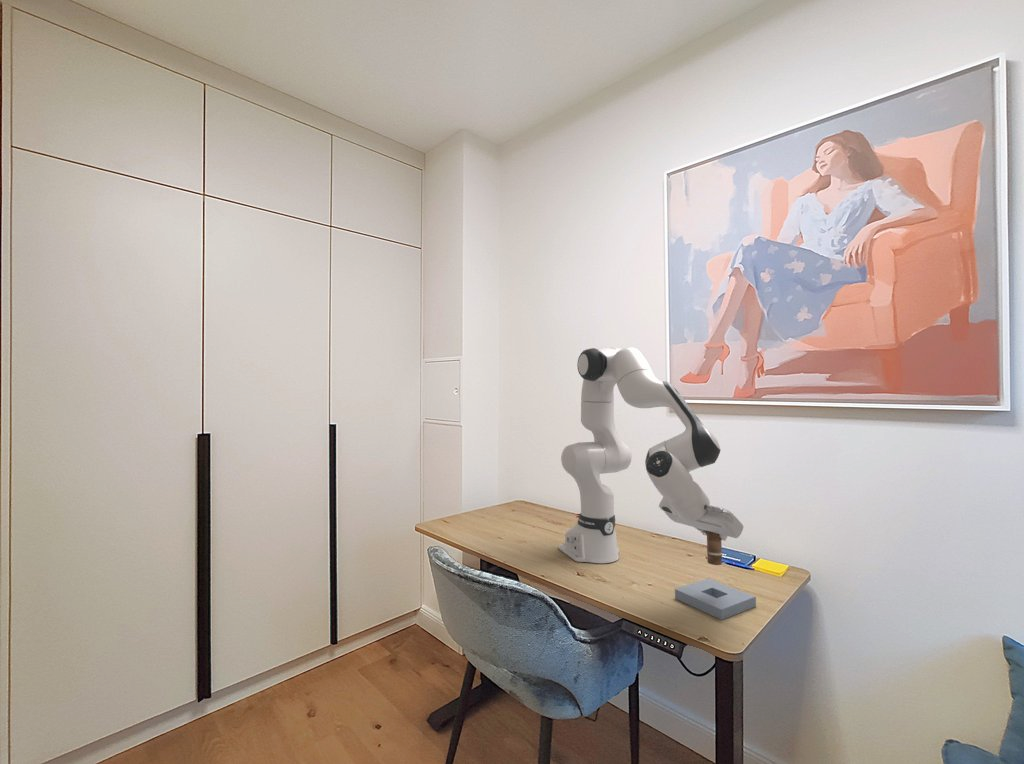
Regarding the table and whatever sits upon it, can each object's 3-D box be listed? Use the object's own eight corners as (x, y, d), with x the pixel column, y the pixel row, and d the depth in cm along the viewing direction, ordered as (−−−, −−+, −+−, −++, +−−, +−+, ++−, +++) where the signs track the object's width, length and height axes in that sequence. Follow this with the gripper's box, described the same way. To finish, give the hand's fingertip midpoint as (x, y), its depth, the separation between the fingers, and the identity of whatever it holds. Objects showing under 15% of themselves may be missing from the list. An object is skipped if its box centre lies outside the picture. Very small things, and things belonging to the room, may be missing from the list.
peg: (704, 562, 122) (703, 516, 123) (713, 559, 124) (711, 514, 125) (716, 566, 119) (715, 519, 120) (725, 563, 121) (723, 517, 122)
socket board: (675, 598, 124) (674, 588, 124) (708, 587, 131) (708, 578, 132) (721, 619, 112) (721, 609, 112) (755, 606, 119) (755, 596, 119)
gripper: (732, 500, 110) (758, 535, 115) (664, 487, 128) (689, 518, 132) (721, 521, 108) (747, 556, 112) (653, 505, 125) (679, 536, 130)
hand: (715, 535), depth 122 cm, fingers closed on peg, 3 cm apart
